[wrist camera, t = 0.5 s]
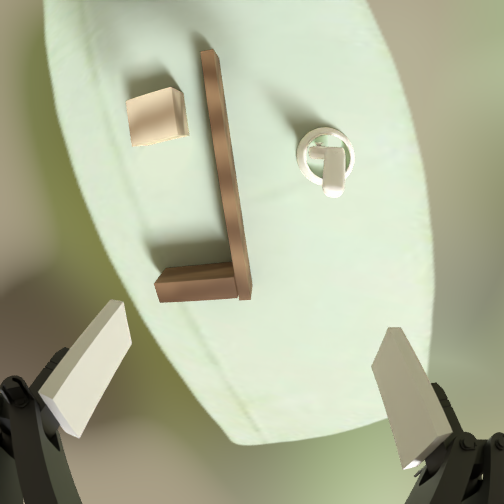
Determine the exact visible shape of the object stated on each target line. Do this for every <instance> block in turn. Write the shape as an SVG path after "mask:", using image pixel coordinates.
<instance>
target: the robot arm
mask: <svg viewBox="0 0 504 504" xmlns="http://www.w3.org/2000/svg"><path fill="white" fill-rule="evenodd" d="M131 344H132V342H131V337H130V332H129V328H128V323H127V318H126V313H125V307H124V302H122V301H117V300H110V301H109V302H108V303H107V304H106V305H105V307H104V308H103V309H102V310H101V311H100V313H99V314H98V315H97V316H96V318H95V319H94V320H93V321H92V322H91V323H90V325H89V326H88V327H87V328H86V330H85V331H84V332H83V333H82V334H81V336H80V337H79V338H78V340H77V341H76V342H75V343H74V344H73V346H72V347H71V348H70V349H69V348H66V347H64V348H63V349H61V350H59V351H58V352H56V353H55V355H54V356H53V357H52V358H51V360H50V362H48V363H47V365H46V366H45V368H44V369H43V370H42V371H41V373H40V374H39V375H38V376H37V378H36V379H35V381H34V382H33V383H32V385H31V386H30V387H29V388H28V386H27V385H26V383H25V381H24V380H23V379H22V378H21V377H19V376H10V377H7V378H6V379H5V380H4V381H3V382H2V384H1V385H0V391H1V393H0V504H23V499H24V502H25V504H82V502H81V499H80V497H79V494H78V492H77V489H76V487H75V484H74V481H73V478H72V475H71V472H70V469H69V466H68V463H67V460H66V456H65V453H64V450H63V446H62V442H61V438H60V434H59V432H58V430H57V429H58V427H59V426H60V425H61V427H62V428H63V429H64V431H65V432H67V433H69V434H71V435H73V436H75V437H77V438H80V436H81V434H82V432H83V430H84V428H85V426H86V425H87V423H88V421H89V419H90V417H91V415H92V413H93V411H94V409H95V407H96V406H97V404H98V402H99V400H100V398H101V396H102V394H103V393H104V391H105V389H106V387H107V386H108V384H109V382H110V380H111V378H112V377H113V375H114V373H115V371H116V369H117V368H118V366H119V364H120V363H121V361H122V359H123V358H124V356H125V354H126V352H127V351H128V349H129V347H130V346H131ZM371 367H372V370H373V373H374V376H375V379H376V382H377V385H378V388H379V391H380V394H381V397H382V400H383V403H384V406H385V409H386V412H387V416H388V419H389V422H390V425H391V429H392V432H393V435H394V439H395V443H396V446H397V449H398V454H399V457H400V461H401V465H402V469H403V470H404V469H407V468H412V467H416V466H418V465H419V464H420V463H421V462H422V461H424V460H425V462H426V465H425V466H424V467H423V468H422V469H421V470H420V471H418V472H417V473H416V474H415V475H414V477H417V476H418V475H419V474H420V473H421V474H420V476H419V478H418V480H417V482H416V484H415V486H414V488H413V489H412V491H411V493H410V495H409V497H408V499H407V500H406V502H405V504H504V434H503V433H500V432H498V433H495V434H494V435H493V436H492V437H491V438H490V439H489V440H477V439H476V438H475V437H474V435H472V434H471V433H468V432H463V430H462V428H461V426H460V423H459V421H458V419H457V417H456V415H455V412H454V410H453V408H452V407H451V404H450V402H449V400H447V396H446V394H445V392H444V390H443V389H442V388H441V387H440V386H439V385H438V384H437V383H430V381H429V379H428V377H427V375H426V373H425V371H424V369H423V367H422V365H421V363H420V362H419V360H418V358H417V356H416V354H415V352H414V350H413V348H412V347H411V345H410V343H409V341H408V339H407V338H406V336H405V334H404V332H403V330H402V329H401V327H388V329H387V332H386V334H385V337H384V339H383V341H382V344H381V346H380V348H379V351H378V353H377V355H376V357H375V360H374V362H373V364H372V366H371ZM482 474H483V479H482Z"/></svg>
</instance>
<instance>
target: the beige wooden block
mask: <svg viewBox="0 0 504 504" xmlns="http://www.w3.org/2000/svg"><path fill="white" fill-rule="evenodd" d="M126 106H127V114H128V122H129V129H130V136H131V143H132V146H147V145H152V144H156V143H160V142H164V141H168V140H172V139H177V138H181V137H186V136H190V135H189V129H188V122H187V115H186V108H185V101H184V94H183V93H182V92H180V91H178V90H176V89H174V88H172V87H168V88H165V89H161V90H158V91H154V92H151V93H148V94H145V95H142V96H139V97H136V98H133V99H130V100H127V101H126Z"/></svg>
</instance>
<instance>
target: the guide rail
mask: <svg viewBox="0 0 504 504" xmlns="http://www.w3.org/2000/svg"><path fill="white" fill-rule="evenodd" d="M201 60H202V68H203V75H204V83H205V90H206V97H207V104H208V111H209V118H210V125H211V132H212V139H213V145H214V152H215V158H216V165H217V171H218V178H219V184H220V190H221V196H222V203H223V209H224V215H225V221H226V227H227V233H228V239H229V244H230V250H231V256H232V262H224V263H214V264H203V265H193V266H182V267H172V268H166V269H165V270H164V271H163V272H162V274H161V275H160V276H159V278H158V279H157V280H156V282H155V283H154V286H155V289H156V292H157V295H158V298H159V302H160V303H163V302H184V301H201V300H216V299H230V298H238V295H239V300H251V293H252V279H251V272H250V266H249V259H248V253H247V246H246V239H245V233H244V226H243V219H242V213H241V206H240V199H239V192H238V186H237V179H236V172H235V165H234V159H233V152H232V145H231V138H230V131H229V124H228V117H227V111H226V104H225V97H224V90H223V83H222V76H221V69H220V62H219V57H218V56H217V54H216V53H215V51H214V50H213V49H211V50H206V51H201Z"/></svg>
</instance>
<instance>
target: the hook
mask: <svg viewBox="0 0 504 504" xmlns="http://www.w3.org/2000/svg"><path fill="white" fill-rule="evenodd" d="M322 135H333V136H336V137H338V138H340V139H341V140H342V141H343V142H344V143H345V144H346V145H347V147H348V149H349V152H350V163H349V166H348V168H347V170H346V171H345V151H344V148H342V147H324V146H321V144H322V142H315V144H317V146H313V147H310V148H309V152H308V153H309V156H310V158H311V159H324V170H323V178H320V177H318V176H316V175H315V174H314V173H313V172H312V171H311V170H310V168H309V166H308V164H307V161H306V152H307V148H308V146H309V144H310V143H311V142H312V141H313V140H314V139H315V138H317V137H319V136H322ZM354 161H355V154H354V149H353V146H352V144H351V142H350V141H349V139H348V138H347V137H346V136H345V135H344V134H343V133H341V132H340V131H338V130H336V129H333V128H327V127H322V128H317V129H314V130H312V131H310V132H308V133H307V134H306V135H305V136H304V137H303V138H302V139H301V141H300V143H299V145H298V149H297V163H298V166H299V168H300V170H301V172H302V173H303V174H304V176H305V177H306V178H307V179H309V180H310V181H312V182H313V183H315V184H318V185H322V187H323V191H324V194H325V195H327V196H329V197H334V198H336V197H339V196H341V195H342V193H343V191H344V189H345V179H346V178H347V177H348V175H349V174H350V173H351V171H352V169H353V166H354Z"/></svg>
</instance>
